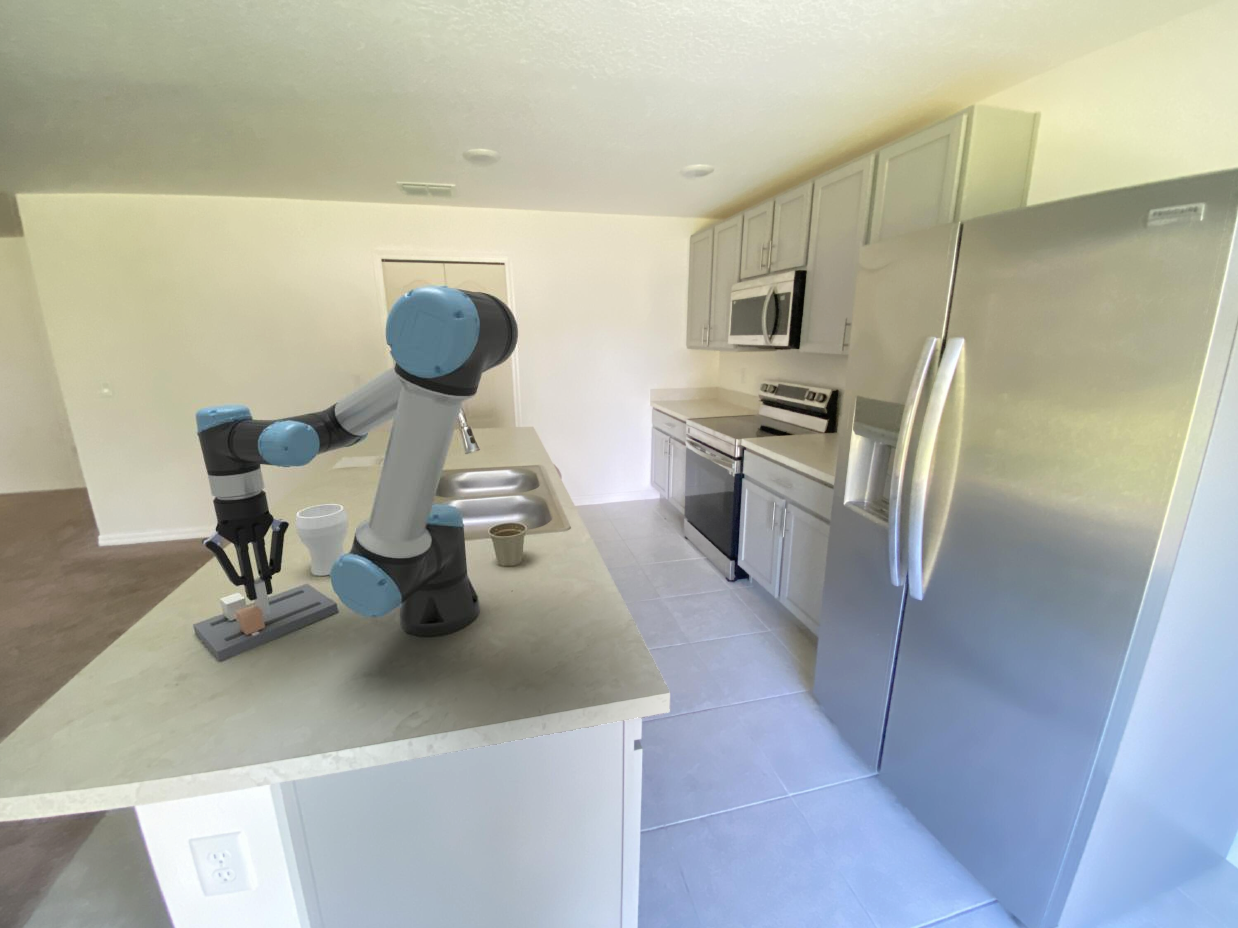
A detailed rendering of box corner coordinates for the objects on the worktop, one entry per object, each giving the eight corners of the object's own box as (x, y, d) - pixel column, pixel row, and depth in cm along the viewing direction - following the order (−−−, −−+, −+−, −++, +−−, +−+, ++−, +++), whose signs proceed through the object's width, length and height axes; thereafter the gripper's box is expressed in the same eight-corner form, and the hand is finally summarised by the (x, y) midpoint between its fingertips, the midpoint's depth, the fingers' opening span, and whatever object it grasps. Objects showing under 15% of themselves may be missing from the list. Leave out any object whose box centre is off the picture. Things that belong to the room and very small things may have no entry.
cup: (332, 580, 115) (322, 520, 112) (293, 576, 118) (282, 516, 114) (363, 561, 126) (355, 504, 122) (327, 557, 128) (318, 501, 124)
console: (338, 612, 103) (336, 602, 102) (219, 661, 87) (217, 651, 87) (308, 591, 111) (307, 582, 110) (195, 633, 95) (192, 623, 95)
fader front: (265, 627, 93) (261, 610, 92) (246, 635, 91) (242, 618, 90) (257, 621, 95) (254, 604, 94) (239, 628, 93) (235, 611, 92)
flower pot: (483, 567, 122) (480, 534, 120) (500, 551, 131) (498, 520, 129) (518, 571, 120) (516, 538, 118) (534, 555, 129) (532, 523, 126)
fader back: (248, 614, 98) (244, 598, 97) (229, 620, 95) (226, 604, 94) (241, 608, 100) (238, 592, 99) (223, 614, 97) (219, 598, 97)
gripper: (273, 481, 95) (293, 592, 102) (186, 498, 85) (214, 620, 92) (288, 488, 91) (309, 603, 97) (199, 507, 81) (228, 635, 87)
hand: (263, 611), depth 94 cm, fingers closed
